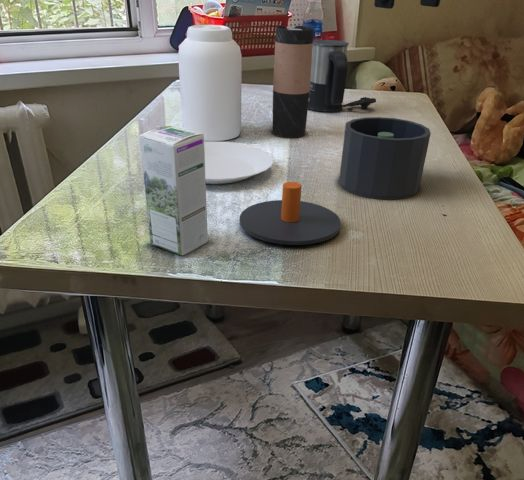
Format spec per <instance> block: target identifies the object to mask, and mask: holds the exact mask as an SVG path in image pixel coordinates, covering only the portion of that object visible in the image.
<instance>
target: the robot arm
mask: <svg viewBox="0 0 524 480" xmlns="http://www.w3.org/2000/svg"><path fill="white" fill-rule="evenodd" d="M395 1H396V0H374V3H373V4H374V5H373V6H374V7H375V8H379V9H380V8H381V9H386V10H387V9H388V10H389V9H393V8H394V6H395ZM440 3H441V0H419V5H420V6H423V7H429V8H430V7H432V8H438V7H439V6H440Z"/></svg>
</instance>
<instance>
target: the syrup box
mask: <svg viewBox="0 0 524 480" xmlns="http://www.w3.org/2000/svg"><path fill="white" fill-rule="evenodd" d="M204 142H205V141H204V134H203V133H198V132H194V131H190V130H186V129H182V127H177V126H172V125H166V126H164V125H163V126H160V127H156V128H154V129H150V130H148V131H145V132H144V133H141V134H139V146H140V157H141V164H142V174H143V181H144V182H143V183H144V192H145V193H144V194H145V203H146V210H147V221H148V229H149V238H150V245H152V246H155V247H156V248H159V249H163V250H165V251H167V252H171V253H173V254H176V255H179V256H182V257H183V256H185V255H188V254H189V253H192V252H193V251H195V250H196V249H198V248H200V247H202V246H204V245H206V244H208V243H209V229H208V212H207V185H206V181H205V150H204Z"/></svg>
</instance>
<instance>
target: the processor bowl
mask: <svg viewBox="0 0 524 480" xmlns="http://www.w3.org/2000/svg"><path fill="white" fill-rule="evenodd" d="M344 129H345V130H344V138H343V145H342V154H341V162H340V170H339V171H340V172H339V180H338V183H339V186H340V187H341V188H342V189H343V190H345V191H346V192H349V193H351V194H353V195H356V196H359V197H364V198H368V199H376V200H400V199H401V200H403V199H406V198H410V197H412V196H414V195H416V194H417V193H418V192H419V189H420V187H421V183H422V177H423V172H424V167H425V162H426V157H427V152H428V148H429V143H430V139H431V133H432V132H431V130H430V128H429V127H427V126H425V125H423V124H422V123H419V122H415V121H411V120H407V119H401V118H396V117H385V116H384V117H382V116H372V117H371V116H369V117H368V116H367V117H359V118H353V119H350V120H349V121H346V122H345V128H344ZM379 132H389V133H393V134H394V138H382V137H378V133H379Z"/></svg>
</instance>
